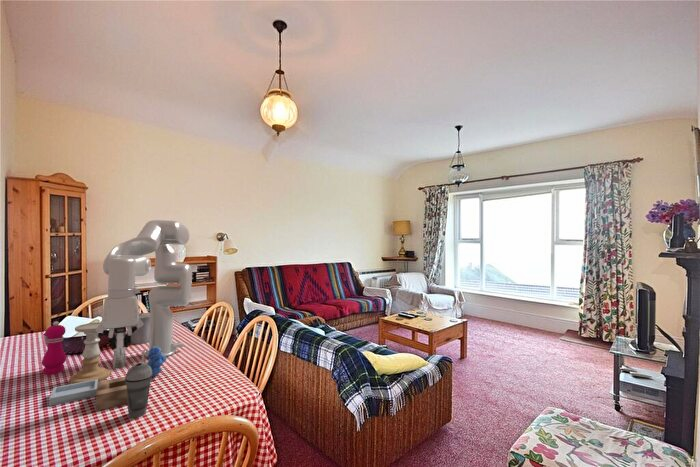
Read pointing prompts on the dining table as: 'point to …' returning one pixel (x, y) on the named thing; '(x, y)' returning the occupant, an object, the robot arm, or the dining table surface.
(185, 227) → the robot arm
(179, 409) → the dining table surface
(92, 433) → the dining table surface
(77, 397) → the dish
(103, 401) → the block
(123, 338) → the pin
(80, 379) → the candle holder
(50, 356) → the pepper mill
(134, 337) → the pillar candle
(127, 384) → the beverage cup
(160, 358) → the grapes
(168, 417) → the dining table surface
